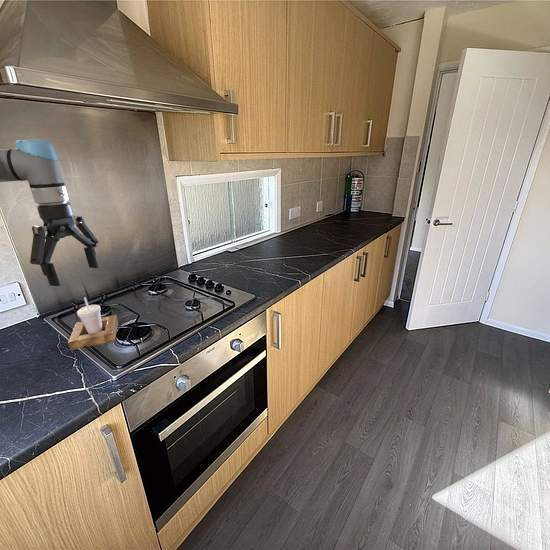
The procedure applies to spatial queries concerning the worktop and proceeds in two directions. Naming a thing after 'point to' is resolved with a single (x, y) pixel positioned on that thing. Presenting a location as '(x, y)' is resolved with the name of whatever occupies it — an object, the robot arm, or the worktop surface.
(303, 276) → the worktop surface
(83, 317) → the smoothie
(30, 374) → the worktop surface
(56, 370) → the worktop surface
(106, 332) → the wooden tray
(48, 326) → the worktop surface
